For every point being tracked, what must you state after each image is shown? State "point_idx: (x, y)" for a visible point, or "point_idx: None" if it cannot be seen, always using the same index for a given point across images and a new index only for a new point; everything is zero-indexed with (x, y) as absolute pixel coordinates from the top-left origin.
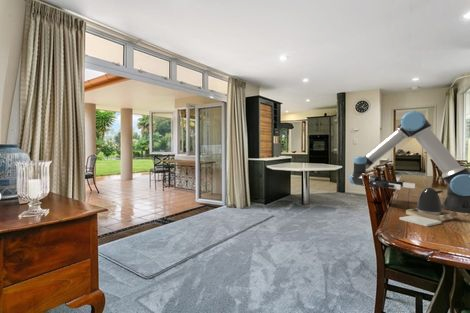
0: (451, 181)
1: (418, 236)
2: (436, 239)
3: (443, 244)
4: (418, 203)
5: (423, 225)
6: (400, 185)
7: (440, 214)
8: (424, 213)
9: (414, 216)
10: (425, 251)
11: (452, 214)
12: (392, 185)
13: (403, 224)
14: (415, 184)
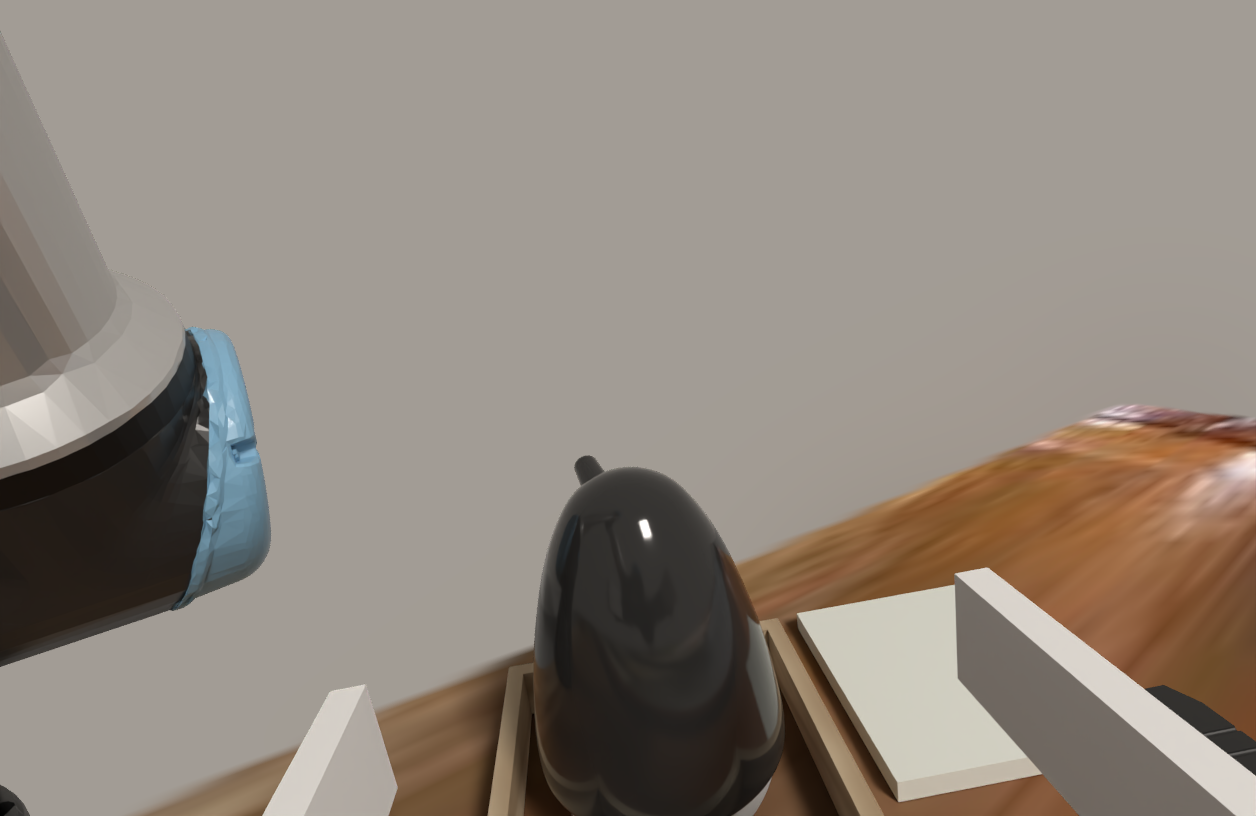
0: (241, 436)
1: (1191, 499)
2: (1098, 481)
3: (1103, 456)
4: (762, 706)
5: None
6: (981, 581)
7: (521, 767)
8: (806, 698)
9: (938, 736)
10: (1244, 426)
11: (529, 668)
12: (1178, 704)
13: (1202, 634)
14: (341, 703)
